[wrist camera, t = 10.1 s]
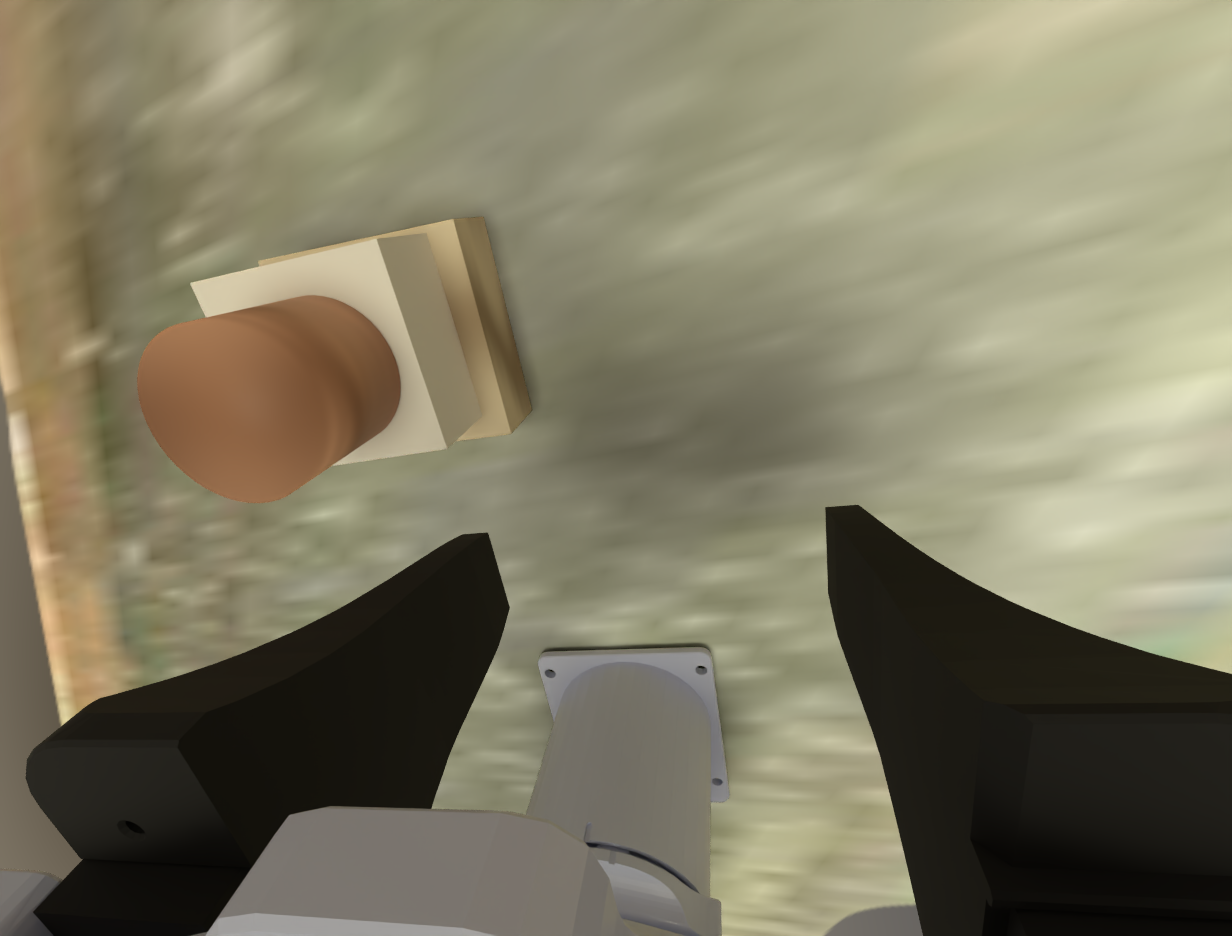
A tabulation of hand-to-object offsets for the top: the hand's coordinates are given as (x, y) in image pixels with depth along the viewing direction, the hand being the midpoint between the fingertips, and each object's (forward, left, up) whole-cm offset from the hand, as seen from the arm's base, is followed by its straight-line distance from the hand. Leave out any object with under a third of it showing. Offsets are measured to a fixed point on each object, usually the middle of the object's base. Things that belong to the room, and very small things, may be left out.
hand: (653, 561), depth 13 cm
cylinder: (+4, +10, -5) cm, 11 cm away
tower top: (+4, +10, -8) cm, 13 cm away
